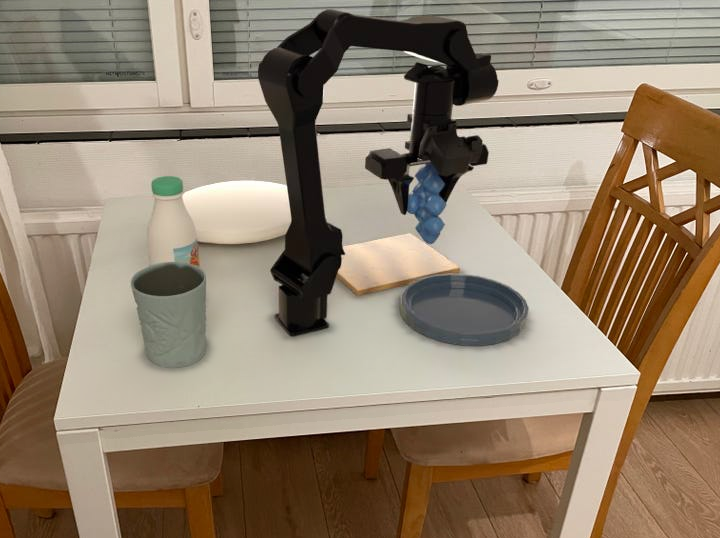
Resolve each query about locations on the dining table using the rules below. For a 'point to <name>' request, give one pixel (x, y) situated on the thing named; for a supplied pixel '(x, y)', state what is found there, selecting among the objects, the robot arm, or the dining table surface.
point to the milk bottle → (171, 225)
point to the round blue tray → (463, 309)
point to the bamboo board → (390, 263)
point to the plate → (239, 211)
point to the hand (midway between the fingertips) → (422, 210)
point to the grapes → (427, 203)
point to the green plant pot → (172, 312)
